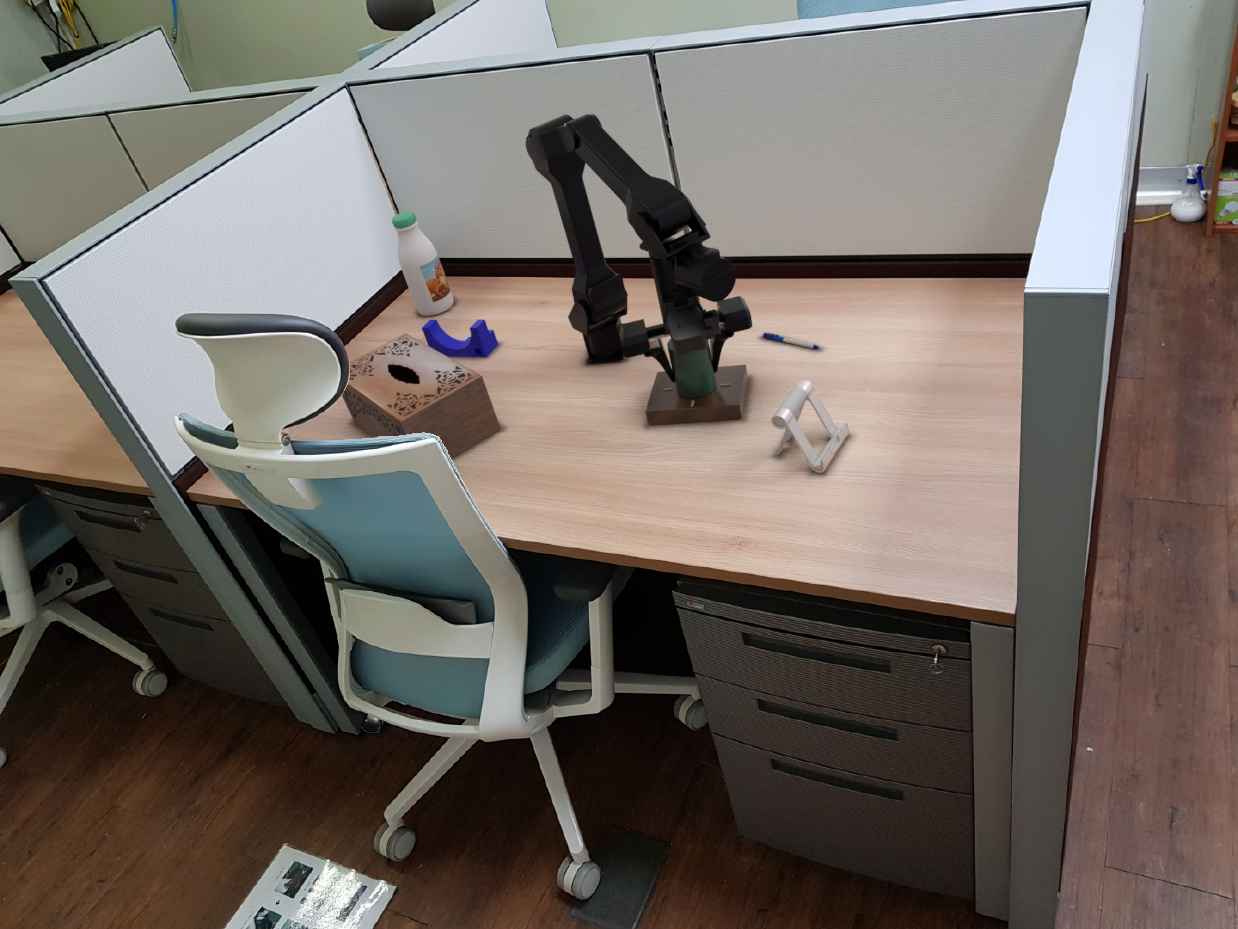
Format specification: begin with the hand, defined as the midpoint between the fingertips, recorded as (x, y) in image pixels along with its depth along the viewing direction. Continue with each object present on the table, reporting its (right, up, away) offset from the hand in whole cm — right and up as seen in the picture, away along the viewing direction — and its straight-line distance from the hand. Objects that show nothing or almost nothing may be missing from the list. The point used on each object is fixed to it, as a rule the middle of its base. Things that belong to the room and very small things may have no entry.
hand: (694, 376), depth 138 cm
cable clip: (-40, +8, +34) cm, 53 cm away
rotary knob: (0, -2, +1) cm, 2 cm away
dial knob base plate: (+1, -4, +3) cm, 4 cm away
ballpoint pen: (+16, +6, +11) cm, 20 cm away
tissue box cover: (-43, -7, +15) cm, 46 cm away
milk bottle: (-49, +19, +52) cm, 73 cm away
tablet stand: (+15, -11, -13) cm, 23 cm away
